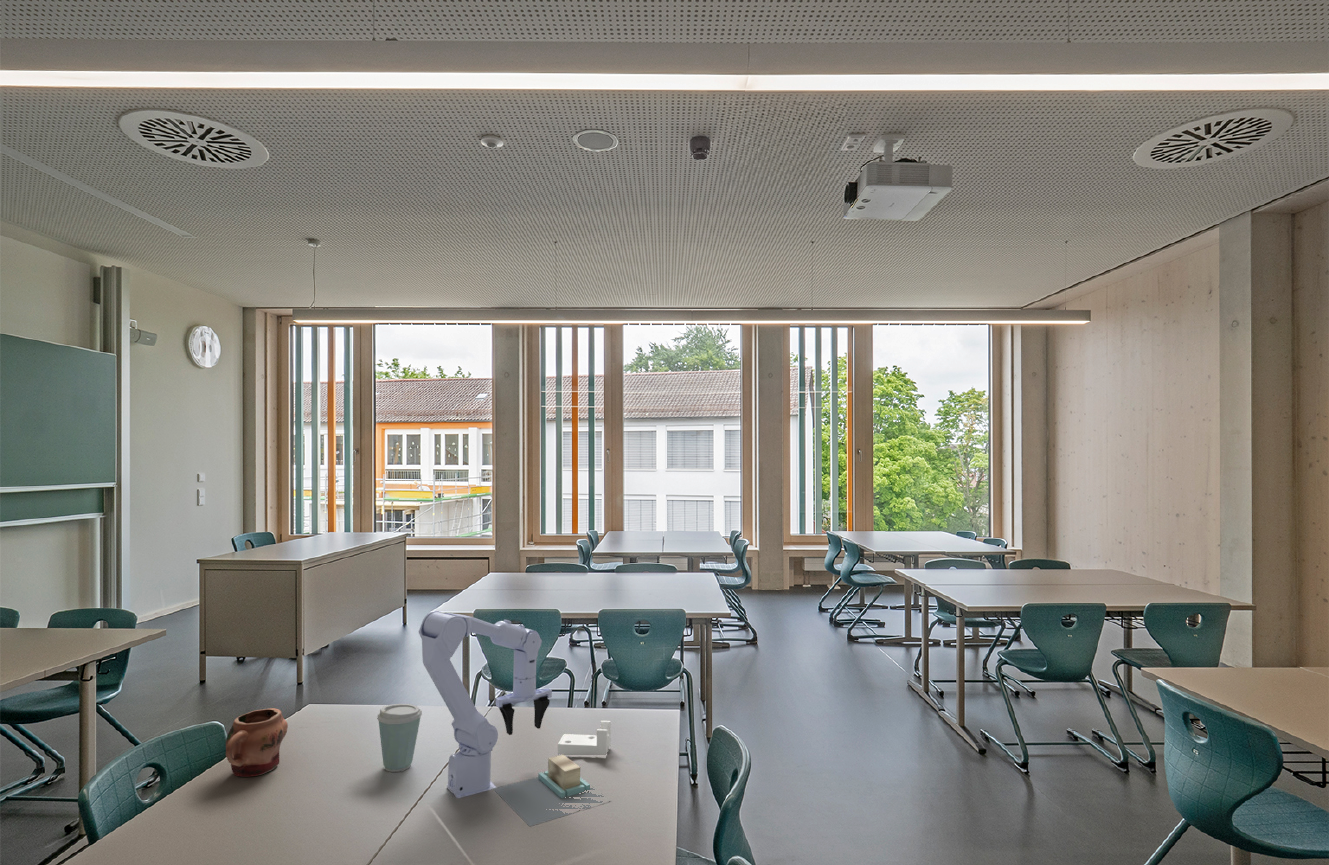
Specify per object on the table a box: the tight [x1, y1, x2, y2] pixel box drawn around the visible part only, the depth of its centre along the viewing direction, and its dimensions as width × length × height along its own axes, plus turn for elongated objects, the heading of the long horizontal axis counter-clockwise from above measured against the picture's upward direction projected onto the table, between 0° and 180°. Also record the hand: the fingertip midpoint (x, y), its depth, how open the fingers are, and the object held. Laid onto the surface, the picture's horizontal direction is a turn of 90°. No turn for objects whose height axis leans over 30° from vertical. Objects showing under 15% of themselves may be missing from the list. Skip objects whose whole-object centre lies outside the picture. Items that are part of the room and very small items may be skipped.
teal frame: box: [537, 770, 591, 798], centre depth 167 cm, size 8×12×1 cm, turn 35°
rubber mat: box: [493, 776, 605, 828], centre depth 161 cm, size 20×21×1 cm
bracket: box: [557, 720, 612, 756], centre depth 188 cm, size 13×7×8 cm, turn 85°
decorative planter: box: [225, 707, 289, 778], centre depth 173 cm, size 20×12×14 cm, turn 2°
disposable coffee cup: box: [377, 703, 423, 773], centre depth 177 cm, size 11×11×15 cm
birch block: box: [547, 755, 581, 791], centre depth 167 cm, size 9×4×5 cm, turn 35°
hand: (523, 730), depth 177 cm, fingers open, 7 cm apart
